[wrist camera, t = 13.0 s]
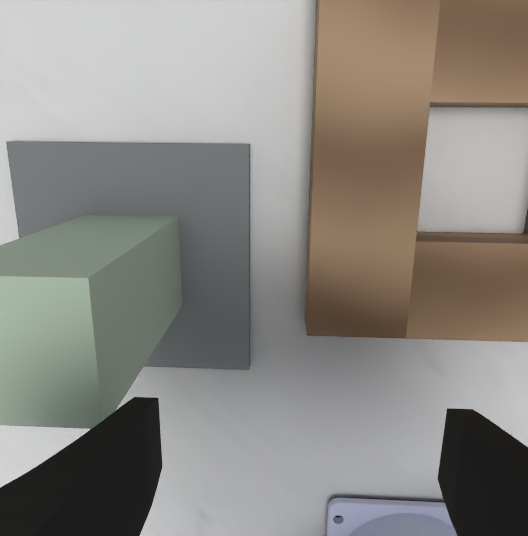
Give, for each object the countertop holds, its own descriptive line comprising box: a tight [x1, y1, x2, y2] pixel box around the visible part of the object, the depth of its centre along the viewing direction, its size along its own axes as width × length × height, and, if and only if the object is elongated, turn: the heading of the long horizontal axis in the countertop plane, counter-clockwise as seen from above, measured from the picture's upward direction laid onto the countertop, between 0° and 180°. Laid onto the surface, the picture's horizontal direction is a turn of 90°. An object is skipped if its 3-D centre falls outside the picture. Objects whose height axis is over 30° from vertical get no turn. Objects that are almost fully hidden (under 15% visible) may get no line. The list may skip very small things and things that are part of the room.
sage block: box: [0, 215, 182, 429], centre depth 15 cm, size 4×4×9 cm
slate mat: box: [6, 142, 250, 370], centre depth 20 cm, size 10×10×1 cm
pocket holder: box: [305, 0, 528, 342], centre depth 17 cm, size 13×13×2 cm
